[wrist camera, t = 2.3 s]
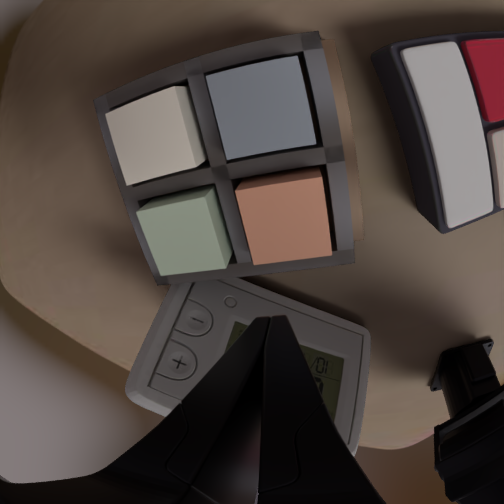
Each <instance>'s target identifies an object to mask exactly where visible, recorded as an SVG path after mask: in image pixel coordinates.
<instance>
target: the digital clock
mask: <svg viewBox="0 0 504 504" xmlns="http://www.w3.org/2000/svg"><path fill="white" fill-rule="evenodd" d="M283 314H285V315H287V317H288V319H289V322H290V324H291V326H292V328H293V331H294V333H295V335H296V337H297V340H298V342H299V344H300V347H301V349H302V351H303V353H304V356H305V358H306V360H307V363H308V365H309V367H310V369H311V372H312V374H313V376H314V379H315V381H316V383H317V386H318V388H319V390H320V392H321V395H322V397H323V399H324V403H325V404H326V406H327V408H328V411H329V413H330V415H331V417H332V419H333V421H334V423H335V426H336V428H337V430H338V432H339V434H340V435H341V437H342V439H343V440H344V442H345V444H346V445H347V447H348V449H349V450H350V452H351V453H352V455H353V456H354V455H355V453H356V450H357V447H358V443H359V438H360V433H361V427H362V420H363V414H364V407H365V399H366V392H367V383H368V374H369V363H370V352H371V337H370V333H369V331H368V330H367V329H366V328H364V327H362V326H360V325H358V324H355V323H353V322H350V321H347V320H345V319H342V318H340V317H337V316H334V315H332V314H329V313H326V312H324V311H321V310H318V309H316V308H313V307H311V306H308V305H305V304H303V303H300V302H298V301H295V300H292V299H290V298H287V297H285V296H282V295H280V294H277V293H274V292H272V291H269V290H267V289H264V288H262V287H259V286H257V285H254V284H252V283H249V282H247V281H244V280H242V279H239V278H237V277H235V278H226V279H217V280H207V281H197V282H187V283H177V284H171V286H170V288H169V290H168V292H167V294H166V296H165V298H164V300H163V302H162V304H161V306H160V308H159V310H158V313H157V315H156V317H155V319H154V321H153V323H152V325H151V327H150V329H149V331H148V334H147V336H146V338H145V340H144V342H143V344H142V347H141V349H140V351H139V353H138V355H137V358H136V360H135V362H134V364H133V366H132V369H131V371H130V374H129V377H128V379H127V382H126V386H125V392H126V395H127V396H128V397H129V399H130V400H132V401H133V402H134V403H136V404H138V405H140V406H142V407H144V408H146V409H148V410H151V411H153V412H155V413H158V414H160V415H163V416H165V417H166V416H167V415H168V414H169V413H170V412H171V411H172V410H173V409H174V408H175V407H176V406H177V405H178V404H179V403H181V401H182V400H183V398H184V397H185V396H186V395H187V394H188V393H189V392H190V391H191V390H192V389H193V388H194V387H195V385H196V384H197V383H198V382H199V381H200V380H201V379H202V378H203V377H204V376H205V374H206V373H207V372H208V371H209V370H210V369H211V368H212V367H213V366H214V364H215V363H216V362H217V361H218V360H219V359H220V358H221V357H222V355H223V354H224V353H225V352H226V351H227V350H228V349H229V347H230V346H231V345H232V344H233V343H234V342H235V341H236V339H237V338H238V337H239V336H240V335H241V334H242V333H243V331H244V330H245V329H246V328H247V327H248V326H249V324H250V323H251V322H252V321H253V320H254V319H255V318H256V317H260V316H270V317H272V316H273V315H283ZM181 404H182V403H181Z"/></svg>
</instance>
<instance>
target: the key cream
mask: <svg viewBox="0 0 504 504" xmlns="http://www.w3.org/2000/svg"><path fill="white" fill-rule="evenodd" d="M105 115H106V119H107V123H108V126H109V130H110V133H111V137H112V140H113V144H114V147H115V150H116V154H117V157H118V160H119V163H120V166H121V170H122V173H123V176H124V179H125V182H126V185H127V186H128V185H131V184H135V183H138V182H141V181H145V180H148V179H152V178H156V177H159V176H163V175H167V174H171V173H174V172H178V171H182V170H186V169H190V168H194V167H197V166H198V165H200V164H201V163H202V162H204V161H205V160H207V159H208V155H207V151H206V147H205V143H204V140H203V136H202V132H201V128H200V125H199V121H198V117H197V113H196V109H195V105H194V102H193V98H192V94H191V90H190V87H184V86H173V87H170V88H168V89H165V90H162V91H159V92H157V93H154V94H151V95H149V96H146V97H144V98H141V99H139V100H136V101H134V102H131V103H129V104H127V105H124V106H122V107H120V108H117V109H115V110H113V111H111V112H109V113H106V114H105Z"/></svg>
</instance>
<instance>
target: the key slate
mask: <svg viewBox="0 0 504 504" xmlns="http://www.w3.org/2000/svg"><path fill="white" fill-rule="evenodd" d="M206 80H207V83H208V87H209V91H210V95H211V99H212V103H213V107H214V111H215V115H216V119H217V123H218V127H219V131H220V135H221V139H222V142H223V146H224V150H225V154H226V158H227V160H230V159H234V158H239V157H244V156H249V155H254V154H260V153H265V152H271V151H276V150H282V149H288V148H294V147H301V146H307V145H314V144H316V139H315V134H314V128H313V123H312V118H311V113H310V108H309V103H308V99H307V94H306V89H305V85H304V81H303V76H302V72H301V68H300V64H299V60H298V56H292V57H286V58H281V59H275V60H270V61H265V62H260V63H255V64H251V65H246V66H242V67H238V68H234V69H230V70H226V71H222V72H218V73H215V74H211V75H208V76H206Z"/></svg>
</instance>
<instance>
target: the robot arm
mask: <svg viewBox="0 0 504 504" xmlns="http://www.w3.org/2000/svg"><path fill="white" fill-rule="evenodd" d="M493 344H494V342H493V340H492V339H489V340H485V341H482V342H478V343H475V344H471V345H467V346H463V347H459V348H455V349H451V350H447V351H444V352H443V353H442V354H441V356H440V359H439V363H438V366H437V369H436V372H435V375H434V378H433V380H432V383H431V386H430V389H431V391H437V390H441V389H442V391H443V394H444V397H445V401H446V404H447V408H448V411H449V415H450V420H448V421H446V422H444V423H442V424H441V425H437V426H435V427H434V451H435V452H434V454H435V466H434V468H435V471H437V472H438V473H439V476H440V477H441V479H442V480H443V481H444V482H445V494H446V496H447V497H448V498H449V500H450V501H451V502H455V501H456V502H457V503H458V504H504V384H503V385H502V386H500V383H499V381H498V378H497V376H496V371H495V369H494V367H493V365H492V362H491V360H490V358H489V354H490V351H491V349H492V347H493ZM181 403H182V404H181ZM181 403H179V404H178V405H177V406H176V407H175V408H174V409H173V410H172V411H171V412H170V413H169V414H168V415H167V416H166V417H165V418H164V419H163V420H162V421H161V422H160V423H159V424H158V425H157V426H156V427H155V428H154V429H153V430H151V431H150V432H149V433H148V434H147V435H146V436H145V437H143V438H142V439H141V440H140V441H139V442H137V443H136V444H135V445H134V446H132V447H131V448H130V449H129V450H127V451H126V452H125V453H124V454H122V455H121V456H120V457H119V458H117V459H116V460H115V461H114V462H112V463H111V464H109V465H108V466H107V467H105V468H104V469H102V470H100V471H98V472H96V473H94V474H91V475H87V476H83V477H77V478H70V479H63V480H55V481H47V482H36V483H11V482H9V481H8V480H6V479H5V478H3V477H2V476H0V504H254V503H255V498H256V493H257V489H258V493H259V495H258V503H257V504H386V502H385V501H384V500H383V499H382V497H381V496H380V495H379V493H378V492H377V491H376V489H375V488H374V487H373V485H372V483H371V482H370V480H369V479H368V477H367V476H366V474H365V473H364V472H363V470H362V469H361V467H360V466H359V464H358V463H357V461H356V459H355V458H354V456H353V455H352V453H351V452H350V450H349V449H348V447H347V445H346V444H345V442H344V440H343V439H342V437H341V435H340V434H339V432H338V430H337V428H336V426H335V423H334V421H333V419H332V417H331V415H330V413H329V411H328V408H327V406H326V404H325V403H324V399H323V397H322V395H321V392H320V390H319V388H318V386H317V383H316V381H315V379H314V376H313V374H312V372H311V369H310V367H309V365H308V363H307V360H306V358H305V356H304V353H303V351H302V349H301V347H300V344H299V342H298V340H297V337H296V335H295V333H294V331H293V328H292V326H291V324H290V322H289V319H288V317H287V315H285V314H283V315H273V316H272V317H270V316H260V317H256V318H255V319H254V320H253V321H252V322H251V323H250V324H249V326H248V327H247V328H246V329H245V330H244V331H243V333H242V334H241V335H240V336H239V337H238V338H237V339H236V341H235V342H234V343H233V344H232V345H231V346H230V347H229V349H228V350H227V351H226V352H225V353H224V354H223V355H222V357H221V358H220V359H219V360H218V361H217V362H216V363H215V364H214V366H213V367H212V368H211V369H210V370H209V371H208V372H207V373H206V374H205V376H204V377H203V378H202V379H201V380H200V381H199V382H198V383H197V384H196V385H195V387H194V388H193V389H192V390H191V391H190V392H189V393H188V394H187V395H186V396H185V397H184V398H183V400H182V401H181Z"/></svg>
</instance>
